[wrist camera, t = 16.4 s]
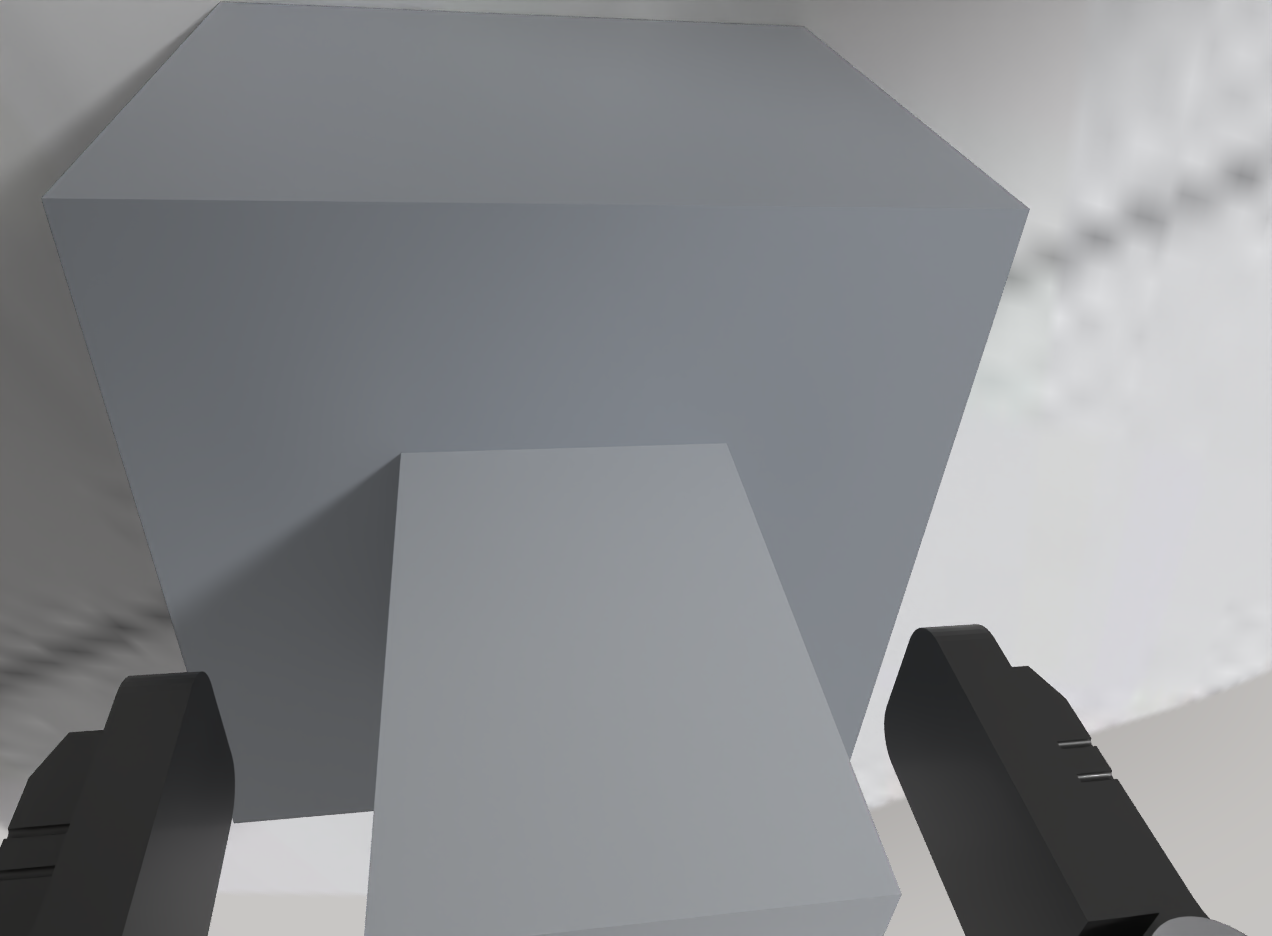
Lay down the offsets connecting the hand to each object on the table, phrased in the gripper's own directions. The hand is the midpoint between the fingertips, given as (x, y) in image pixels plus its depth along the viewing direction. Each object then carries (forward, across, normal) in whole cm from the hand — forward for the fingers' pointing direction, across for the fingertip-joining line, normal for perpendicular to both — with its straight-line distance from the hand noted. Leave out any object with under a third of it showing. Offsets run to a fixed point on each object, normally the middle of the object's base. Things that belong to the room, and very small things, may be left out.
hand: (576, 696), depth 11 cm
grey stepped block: (+11, 0, 0) cm, 11 cm away
